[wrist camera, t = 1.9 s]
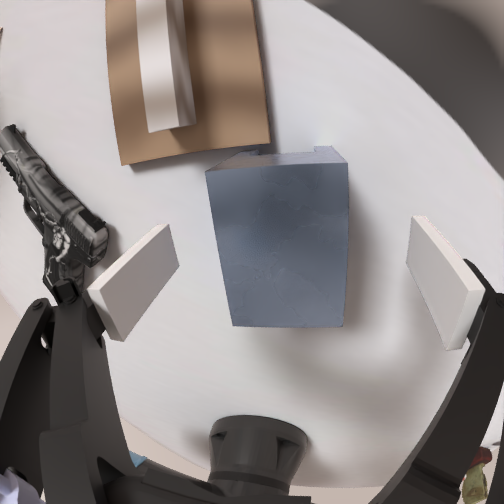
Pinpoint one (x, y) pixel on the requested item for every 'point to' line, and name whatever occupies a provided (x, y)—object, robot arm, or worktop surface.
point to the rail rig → (184, 77)
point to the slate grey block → (282, 236)
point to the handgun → (53, 213)
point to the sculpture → (476, 478)
